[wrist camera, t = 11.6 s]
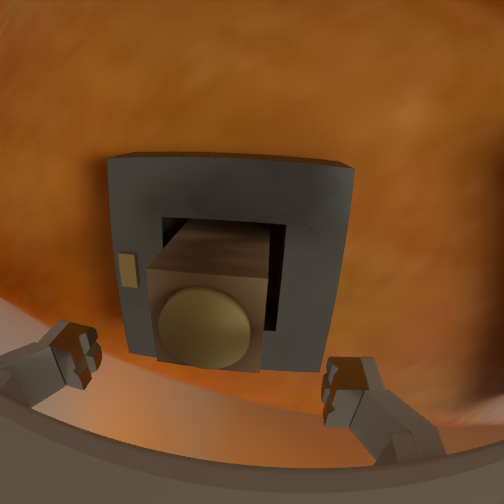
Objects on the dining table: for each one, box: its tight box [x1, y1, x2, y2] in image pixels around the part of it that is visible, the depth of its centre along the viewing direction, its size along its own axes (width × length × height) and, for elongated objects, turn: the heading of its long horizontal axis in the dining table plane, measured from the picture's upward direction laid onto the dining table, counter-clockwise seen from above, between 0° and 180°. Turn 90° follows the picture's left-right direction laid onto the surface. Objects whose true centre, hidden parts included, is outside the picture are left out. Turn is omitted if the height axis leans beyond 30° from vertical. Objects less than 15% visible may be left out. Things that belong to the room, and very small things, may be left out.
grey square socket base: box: [107, 152, 355, 372], centre depth 18 cm, size 12×12×4 cm
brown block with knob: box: [146, 218, 270, 373], centre depth 16 cm, size 5×5×9 cm
